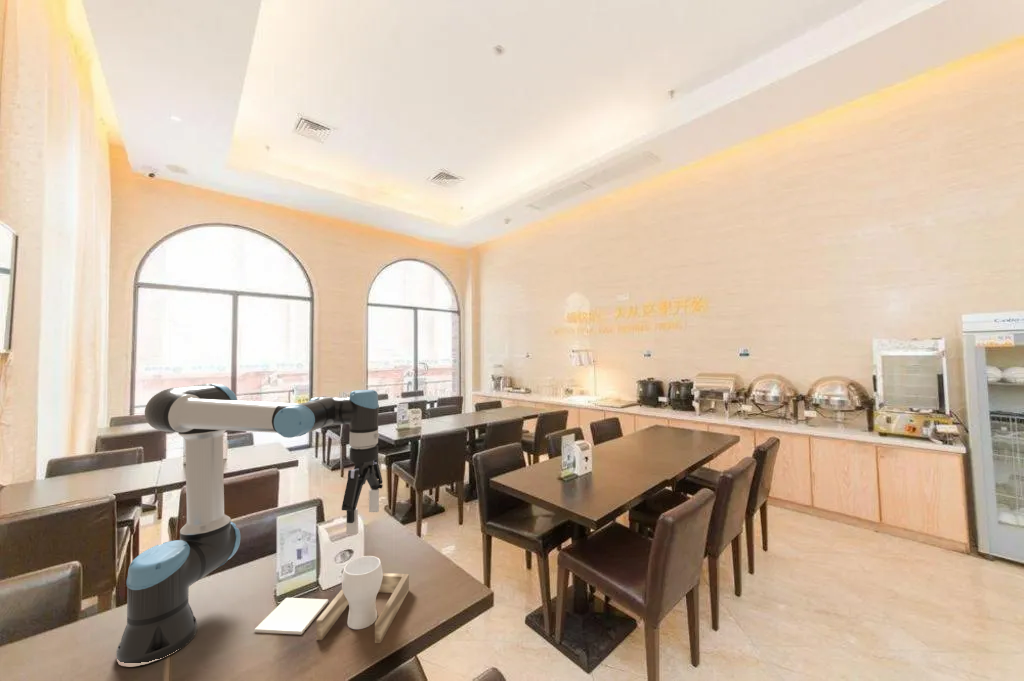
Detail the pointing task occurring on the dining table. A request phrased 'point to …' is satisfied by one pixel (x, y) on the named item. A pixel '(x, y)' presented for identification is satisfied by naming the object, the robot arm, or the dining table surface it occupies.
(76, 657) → the dining table surface
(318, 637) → the frame
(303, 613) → the tile
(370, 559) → the cup
